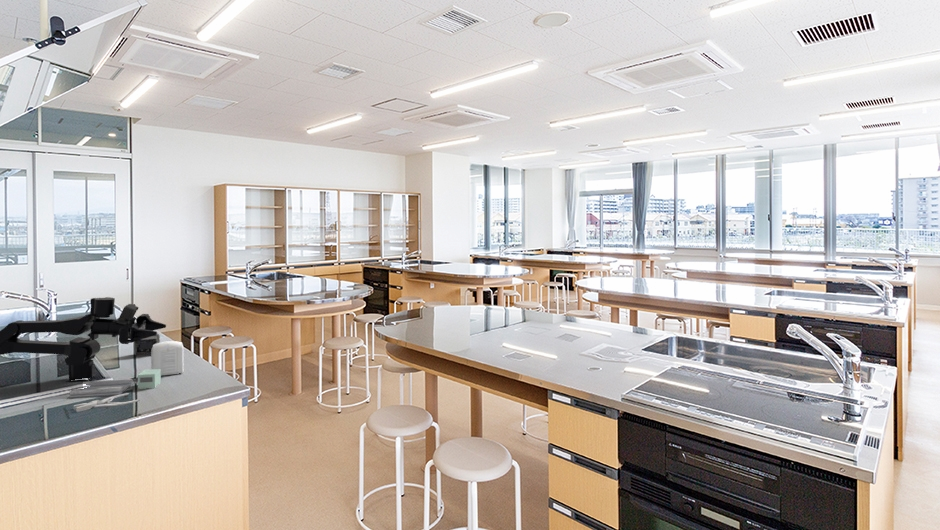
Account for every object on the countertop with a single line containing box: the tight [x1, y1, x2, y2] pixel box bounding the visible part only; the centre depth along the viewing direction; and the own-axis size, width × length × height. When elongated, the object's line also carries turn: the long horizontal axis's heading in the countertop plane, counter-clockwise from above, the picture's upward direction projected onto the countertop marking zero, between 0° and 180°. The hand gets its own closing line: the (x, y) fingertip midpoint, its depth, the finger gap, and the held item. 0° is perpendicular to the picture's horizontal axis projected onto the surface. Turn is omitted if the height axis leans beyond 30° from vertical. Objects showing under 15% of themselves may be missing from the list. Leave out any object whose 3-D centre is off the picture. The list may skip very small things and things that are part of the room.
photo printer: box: [150, 340, 185, 377], centre depth 177 cm, size 10×4×12 cm, turn 123°
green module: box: [137, 368, 162, 390], centre depth 165 cm, size 5×6×5 cm
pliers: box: [73, 392, 140, 413], centre depth 148 cm, size 10×2×15 cm
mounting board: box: [67, 378, 135, 399], centre depth 159 cm, size 14×13×2 cm
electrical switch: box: [133, 332, 161, 357], centre depth 202 cm, size 9×5×9 cm, turn 117°
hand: (161, 329), depth 175 cm, fingers open, 9 cm apart
